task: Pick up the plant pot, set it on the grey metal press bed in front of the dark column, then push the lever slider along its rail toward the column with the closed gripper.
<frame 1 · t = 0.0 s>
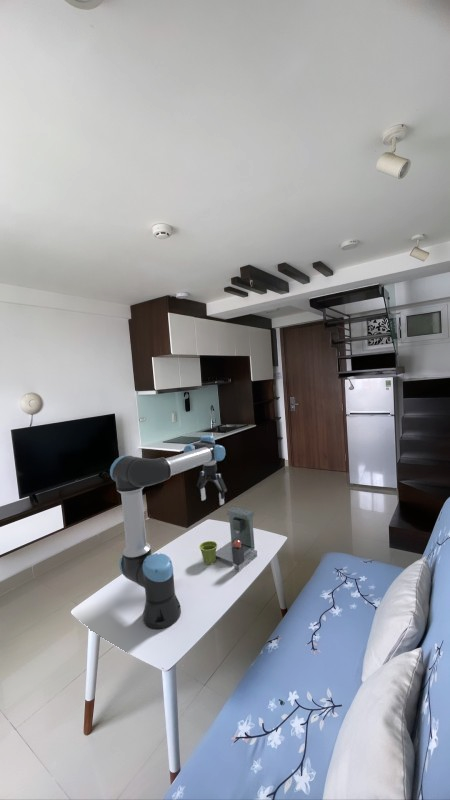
hand: (212, 502, 176), 28 cm above the table, fingers open, 13 cm apart
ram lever: (237, 551, 159), point 9 cm above the table, slide at 0.0 cm
plant pot: (209, 561, 168), on the table
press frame: (231, 554, 173), on the table
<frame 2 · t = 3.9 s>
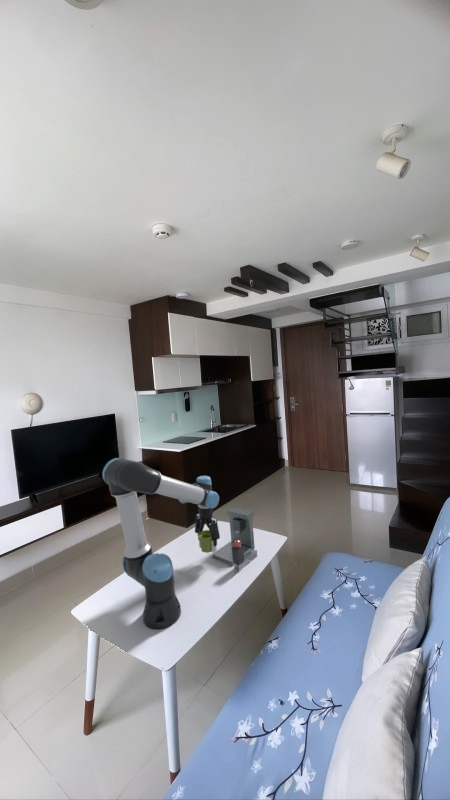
hand: (207, 549, 167), 7 cm above the table, fingers closed on plant pot, 8 cm apart
plant pot: (207, 550, 167), point 6 cm above the table, touching gripper
everything else where it was.
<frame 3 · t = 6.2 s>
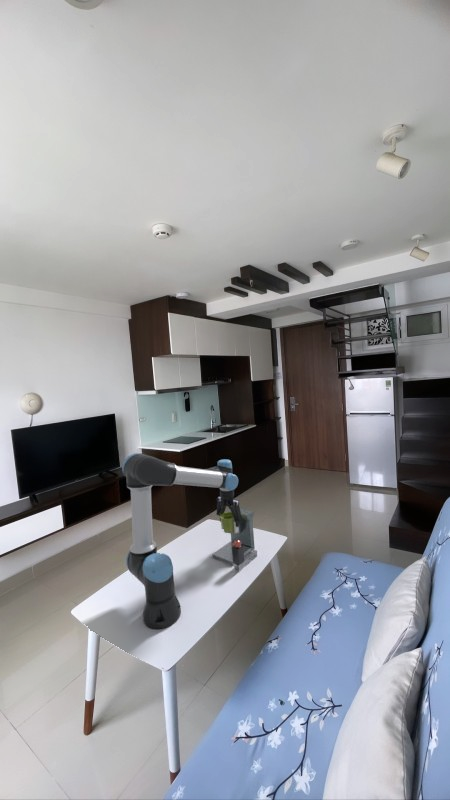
hand: (230, 530, 172), 14 cm above the table, fingers closed on plant pot, 8 cm apart
plant pot: (229, 531, 172), point 13 cm above the table, touching gripper
everything else where it was.
when the fingers open (2 cm above the table, at t = 8.5 s): plant pot stays where it is, resting on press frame.
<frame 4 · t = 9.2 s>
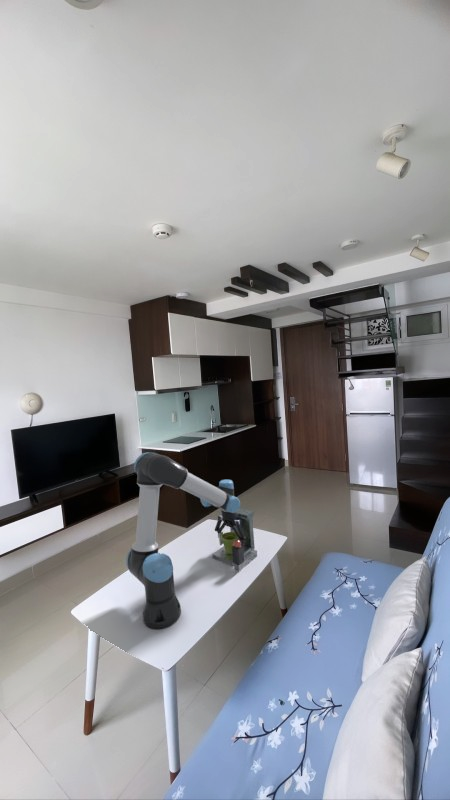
hand: (231, 547, 172), 4 cm above the table, fingers open, 13 cm apart
plant pot: (231, 551, 172), point 2 cm above the table, touching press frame
everything else where it was.
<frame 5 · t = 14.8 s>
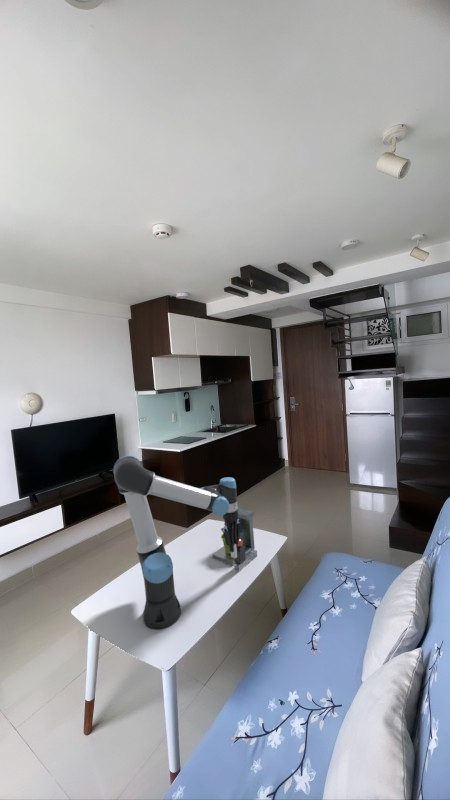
hand: (234, 556, 156), 8 cm above the table, fingers closed
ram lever: (239, 550, 160), point 9 cm above the table, slide at 1.2 cm, touching gripper
everything else where it was.
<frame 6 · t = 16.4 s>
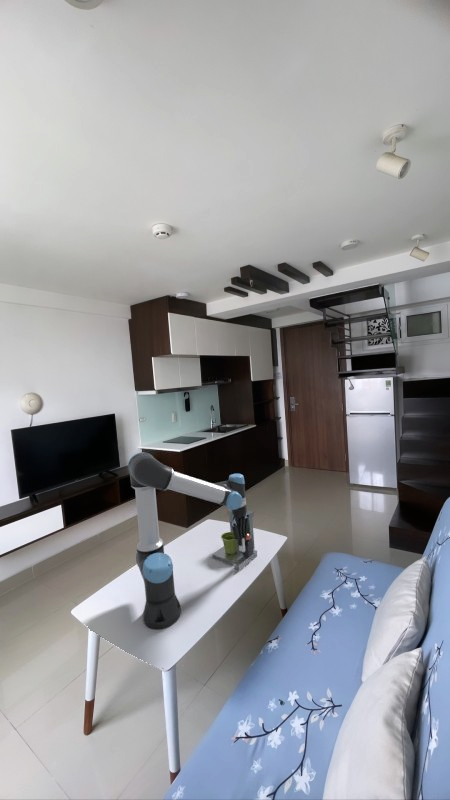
hand: (242, 550, 162), 8 cm above the table, fingers closed
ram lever: (247, 544, 165), point 9 cm above the table, slide at 8.0 cm, touching gripper
everything else where it was.
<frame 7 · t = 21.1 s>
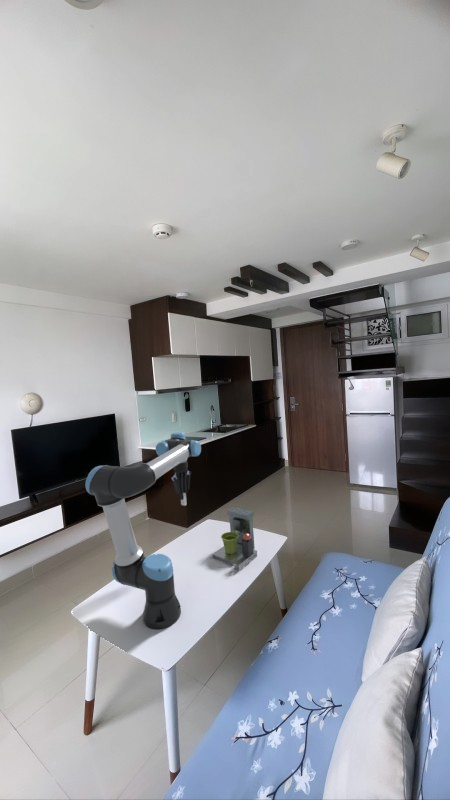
hand: (184, 504, 171), 29 cm above the table, fingers closed
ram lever: (247, 544, 165), point 9 cm above the table, slide at 8.0 cm
everything else where it was.
at the end: plant pot inside the target area on the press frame (0.5 cm from its centre), point 1.8 cm above the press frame's base; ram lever slide at 8.0 cm; the gripper is holding nothing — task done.
